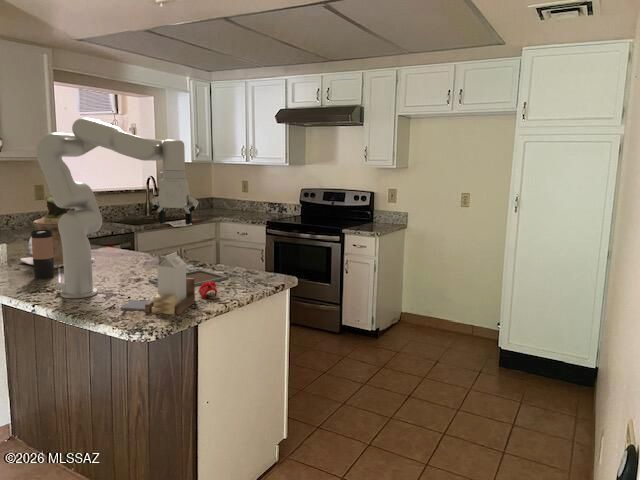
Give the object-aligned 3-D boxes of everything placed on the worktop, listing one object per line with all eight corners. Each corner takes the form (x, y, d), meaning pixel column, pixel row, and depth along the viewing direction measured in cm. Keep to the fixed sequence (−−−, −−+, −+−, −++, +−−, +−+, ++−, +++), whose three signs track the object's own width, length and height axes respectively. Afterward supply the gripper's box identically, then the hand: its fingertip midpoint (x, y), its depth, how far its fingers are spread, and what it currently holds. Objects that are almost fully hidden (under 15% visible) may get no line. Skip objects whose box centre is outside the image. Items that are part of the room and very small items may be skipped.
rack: (145, 313, 164) (144, 287, 163) (163, 300, 179) (162, 276, 178) (179, 314, 163) (179, 289, 162) (194, 301, 178) (194, 278, 177)
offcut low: (151, 313, 165) (151, 307, 165) (157, 310, 169) (157, 304, 168) (174, 315, 164) (174, 309, 164) (179, 312, 168) (179, 305, 168)
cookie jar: (47, 270, 218) (42, 199, 213) (18, 263, 231) (12, 196, 225) (97, 261, 239) (93, 196, 234) (67, 255, 252) (64, 193, 246)
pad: (120, 309, 168) (120, 307, 167) (132, 301, 176) (132, 300, 176) (145, 310, 167) (145, 308, 167) (156, 302, 176) (156, 301, 176)
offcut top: (154, 302, 164) (153, 297, 164) (158, 299, 168) (158, 294, 167) (172, 303, 164) (172, 298, 163) (176, 300, 167) (176, 295, 167)
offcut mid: (153, 307, 165) (153, 302, 164) (158, 304, 168) (158, 298, 168) (174, 309, 164) (174, 303, 163) (179, 305, 167) (179, 300, 167)
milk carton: (158, 307, 170) (156, 255, 167) (169, 302, 177) (167, 251, 174) (176, 310, 169) (175, 256, 165) (186, 304, 175) (185, 252, 172)
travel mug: (48, 274, 212) (45, 229, 208) (58, 277, 208) (55, 230, 204) (30, 277, 205) (27, 231, 202) (40, 280, 201) (37, 233, 198)
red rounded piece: (222, 289, 185) (217, 278, 188) (210, 286, 180) (204, 275, 184) (211, 303, 187) (205, 292, 191) (198, 301, 183) (193, 290, 186)
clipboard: (228, 276, 213) (169, 289, 190) (228, 280, 213) (169, 293, 190) (201, 269, 225) (142, 280, 202) (201, 272, 225) (142, 284, 202)
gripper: (145, 175, 168) (147, 224, 171) (193, 176, 166) (194, 226, 169) (156, 174, 176) (157, 221, 179) (201, 175, 173) (202, 223, 176)
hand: (175, 223), depth 174 cm, fingers open, 9 cm apart
